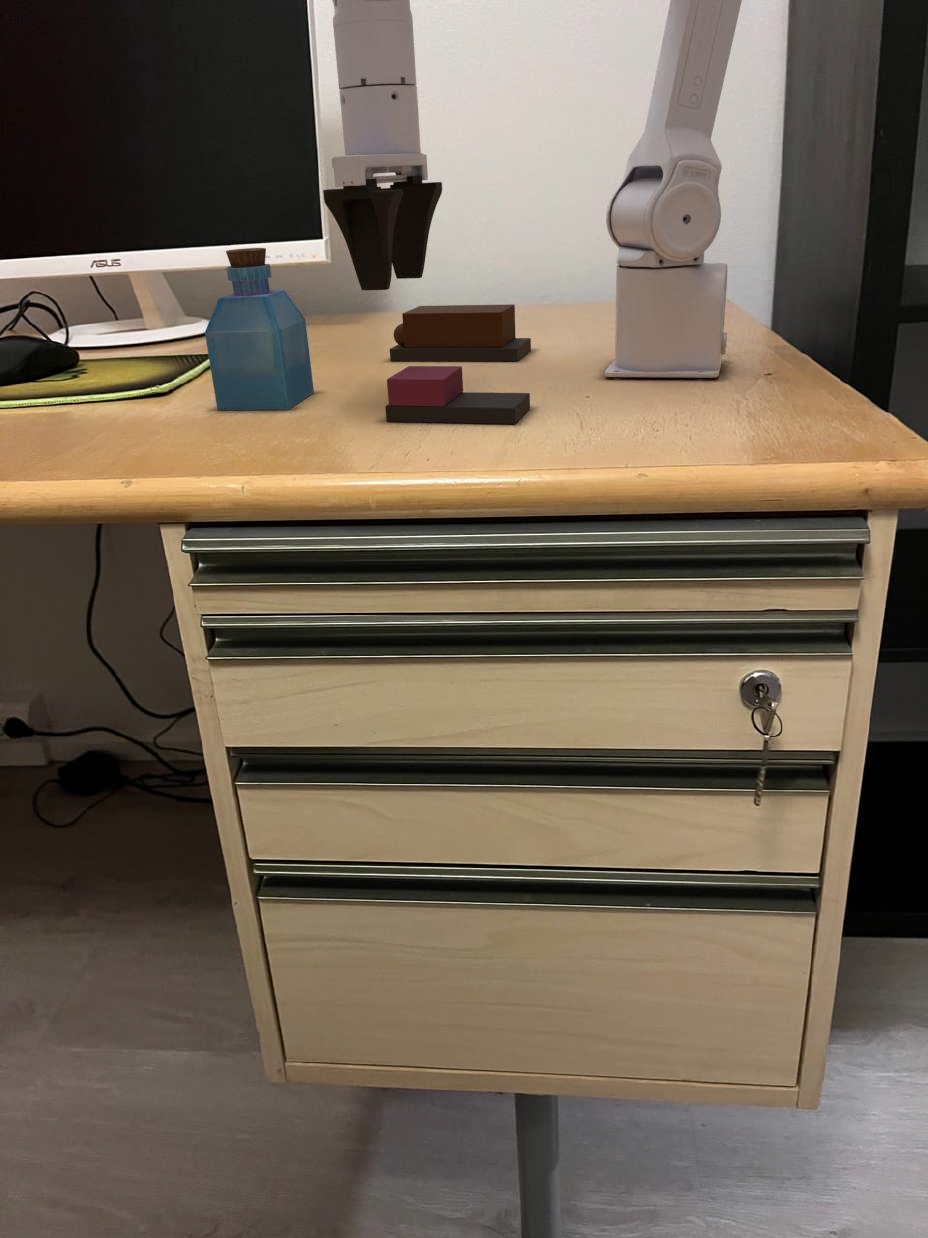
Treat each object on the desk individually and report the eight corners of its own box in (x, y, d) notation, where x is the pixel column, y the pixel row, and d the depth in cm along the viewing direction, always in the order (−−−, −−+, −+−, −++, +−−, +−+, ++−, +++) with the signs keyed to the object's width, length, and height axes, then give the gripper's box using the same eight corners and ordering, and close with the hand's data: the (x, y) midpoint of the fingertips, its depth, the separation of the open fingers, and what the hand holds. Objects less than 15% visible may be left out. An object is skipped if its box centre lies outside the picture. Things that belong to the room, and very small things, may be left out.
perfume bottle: (288, 409, 77) (267, 251, 72) (217, 409, 78) (192, 254, 73) (314, 392, 83) (296, 244, 78) (247, 393, 84) (226, 247, 79)
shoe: (531, 349, 97) (530, 303, 95) (517, 361, 91) (516, 312, 89) (410, 350, 100) (406, 305, 98) (390, 361, 95) (386, 313, 93)
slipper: (530, 408, 73) (529, 366, 72) (515, 424, 69) (514, 379, 68) (407, 406, 76) (404, 365, 75) (386, 421, 72) (382, 378, 71)
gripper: (365, 97, 77) (379, 274, 83) (284, 87, 65) (308, 296, 71) (447, 90, 75) (456, 272, 81) (380, 78, 63) (397, 294, 69)
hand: (393, 283), depth 76 cm, fingers open, 7 cm apart
